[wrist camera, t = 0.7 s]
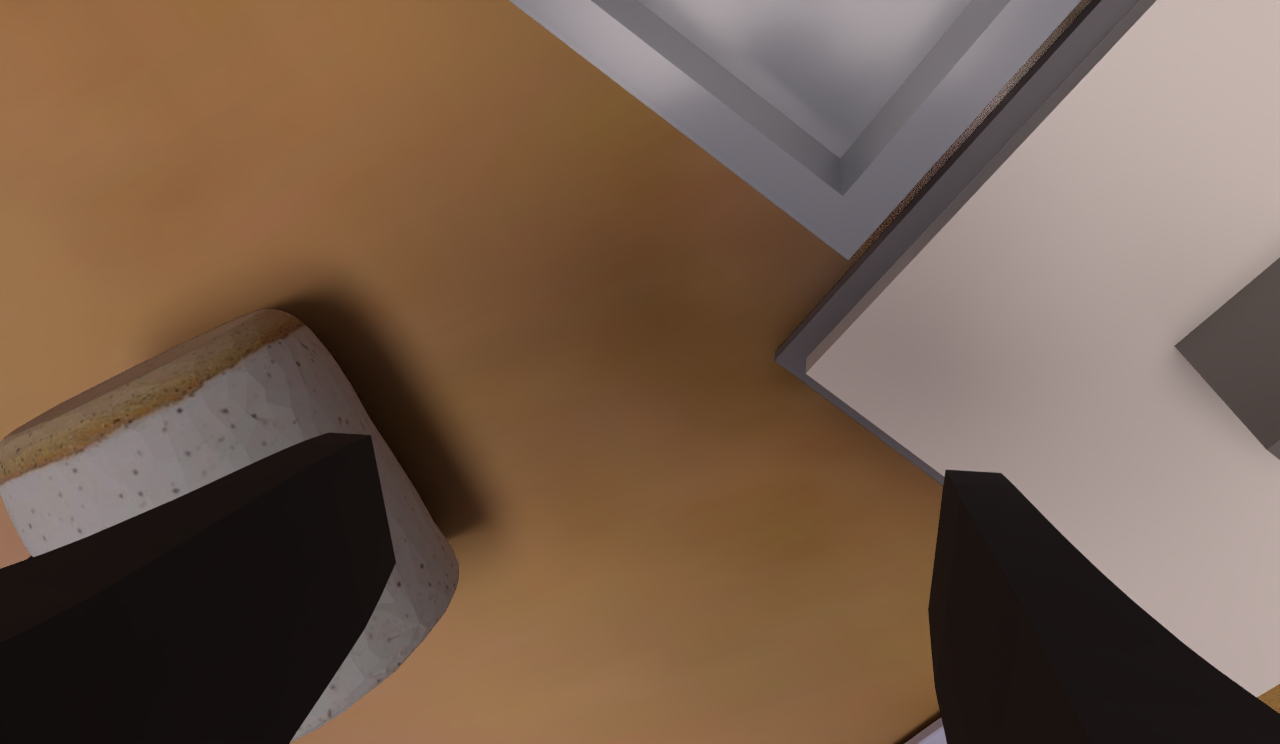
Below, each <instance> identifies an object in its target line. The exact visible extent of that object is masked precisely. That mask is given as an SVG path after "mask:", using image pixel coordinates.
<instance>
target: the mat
mask: <svg viewBox="0 0 1280 744" xmlns="http://www.w3.org/2000/svg"><path fill="white" fill-rule="evenodd" d="M1138 1H1139V0H1093V1H1092V2H1091V3H1090V4H1089V5H1088V6H1087V7H1086V8H1085V9H1084V11H1083V12H1082V13H1081V14H1080V15H1079V16H1078V17H1077V18H1076V19H1075V20H1074V22H1073V23H1072V24H1071V25H1070V26H1069V27H1068V28H1067V29H1066V30H1065V32H1064V33H1063V34H1062V35H1061V36H1060V37H1059V38H1058V39H1057V40H1056V42H1055V43H1054V44H1053V45H1052V46H1051V47H1050V48H1049V49H1048V50H1047V52H1046V53H1045V54H1044V55H1043V56H1042V57H1041V58H1040V59H1039V60H1038V61H1037V63H1036V64H1035V65H1034V66H1033V67H1032V68H1031V69H1030V70H1029V71H1028V73H1027V74H1026V75H1025V76H1024V77H1023V78H1022V79H1021V80H1020V81H1019V83H1018V84H1017V85H1016V86H1015V87H1014V88H1013V89H1012V90H1011V91H1010V92H1009V94H1008V95H1007V96H1006V97H1005V98H1004V99H1003V100H1002V101H1001V102H1000V104H999V105H998V106H997V107H996V108H995V109H994V110H993V111H992V112H991V114H990V115H989V116H988V117H987V118H986V119H985V120H984V121H983V122H982V123H981V125H980V126H979V127H978V128H977V129H976V130H975V131H974V132H973V133H972V135H971V136H970V137H969V138H968V139H967V140H966V141H965V142H964V143H963V145H962V146H961V147H960V148H959V149H958V150H957V151H956V152H955V153H954V154H953V156H952V157H951V158H950V159H949V160H948V161H947V162H946V163H945V164H944V166H943V167H942V168H941V169H940V170H939V171H938V172H937V173H936V174H935V176H934V177H933V178H932V179H931V180H930V181H929V182H928V183H927V184H926V186H925V187H924V188H923V189H922V190H921V191H920V192H919V193H918V194H917V195H916V197H915V198H914V199H913V200H912V201H911V202H910V203H909V204H908V205H907V207H906V208H905V209H904V210H903V211H902V212H901V213H900V214H899V215H898V217H897V218H896V219H895V220H894V221H893V222H892V223H891V224H890V225H889V226H888V228H887V229H886V230H885V231H884V232H883V233H882V234H881V235H880V236H879V238H878V239H877V240H876V241H875V242H874V243H873V244H872V245H871V246H870V248H869V249H868V250H867V251H866V252H865V253H864V254H863V255H862V256H861V257H860V259H859V260H858V261H857V262H856V263H855V264H854V265H853V266H852V267H851V269H850V270H849V271H848V272H847V273H846V274H845V275H844V276H843V277H842V279H841V280H840V281H839V282H838V283H837V284H836V285H835V286H834V287H833V288H832V290H831V291H830V292H829V293H828V294H827V295H826V296H825V297H824V298H823V300H822V301H821V302H820V303H819V304H818V305H817V306H816V307H815V308H814V310H813V311H812V312H811V313H810V314H809V315H808V316H807V317H806V318H805V320H804V321H803V322H802V323H801V324H800V325H799V326H798V327H797V328H796V329H795V331H794V332H793V333H792V334H791V335H790V336H789V337H788V338H787V339H786V341H785V342H784V343H783V344H782V345H781V346H780V347H779V348H778V349H777V351H776V352H775V360H774V361H775V362H777V363H778V364H780V365H781V366H782V367H784V368H785V369H786V370H788V371H789V372H790V373H792V374H793V375H794V376H796V377H797V378H798V379H800V380H801V381H802V382H804V383H805V384H806V385H808V386H809V387H810V388H812V389H813V390H814V391H816V392H817V393H819V394H820V395H821V396H823V397H824V398H825V399H827V400H828V401H829V402H831V403H832V404H833V405H835V406H836V407H837V408H839V409H840V410H841V411H843V412H844V413H845V414H847V415H848V416H849V417H851V418H852V419H854V420H855V421H856V422H858V423H859V424H860V425H862V426H863V427H864V428H866V429H867V430H868V431H870V432H871V433H872V434H874V435H875V436H876V437H878V438H879V439H880V440H882V441H883V442H884V443H886V444H887V445H889V446H890V447H891V448H893V449H894V450H895V451H897V452H898V453H899V454H901V455H902V456H903V457H905V458H906V459H907V460H909V461H910V462H911V463H913V464H914V465H915V466H917V467H918V468H919V469H921V470H922V471H924V472H925V473H926V474H928V475H929V476H930V477H932V478H933V479H934V480H936V481H937V482H938V483H940V484H941V485H942V486H944V476H943V475H941V474H940V473H939V472H937V471H936V470H935V469H933V468H932V467H931V466H929V465H928V464H926V463H925V462H924V461H922V460H921V459H920V458H918V457H917V456H916V455H914V454H913V453H912V452H910V451H909V450H908V449H906V448H905V447H904V446H902V445H901V444H900V443H898V442H897V441H896V440H894V439H893V438H892V437H890V436H889V435H888V434H886V433H885V432H884V431H882V430H881V429H880V428H878V427H877V426H875V425H874V424H873V423H871V422H870V421H869V420H867V419H866V418H865V417H863V416H862V415H861V414H859V413H858V412H857V411H855V410H854V409H853V408H851V407H850V406H849V405H847V404H846V403H845V402H843V401H842V400H841V399H839V398H838V397H837V396H835V395H834V394H833V393H831V392H830V391H828V390H827V389H826V388H824V387H823V386H822V385H820V384H819V383H818V382H816V381H815V380H814V379H812V378H811V377H810V376H808V375H807V374H806V358H807V357H808V356H809V355H810V354H811V353H812V352H813V351H814V349H815V348H816V347H817V346H818V345H819V344H820V343H821V342H822V341H823V340H824V339H825V338H826V337H827V335H828V334H829V333H830V332H831V331H832V330H833V329H834V328H835V327H836V326H837V325H838V324H839V323H840V321H841V320H842V319H843V318H844V317H845V316H846V315H847V314H848V313H849V312H850V311H851V310H852V309H853V308H854V306H855V305H856V304H857V303H858V302H859V301H860V300H861V299H862V298H863V297H864V296H865V295H866V294H867V292H868V291H869V290H870V289H871V288H872V287H873V286H874V285H875V284H876V283H877V282H878V281H879V280H880V278H881V277H882V276H883V275H884V274H885V273H886V272H887V271H888V270H889V269H890V268H891V267H892V266H893V264H894V263H895V262H896V261H897V260H898V259H899V258H900V257H901V256H902V255H903V254H904V253H905V252H906V251H907V249H908V248H909V247H910V246H911V245H912V244H913V243H914V242H915V241H916V240H917V239H918V238H919V237H920V235H921V234H922V233H923V232H924V231H925V230H926V229H927V228H928V227H929V226H930V225H931V224H932V223H933V221H934V220H935V219H936V218H937V217H938V216H939V215H940V214H941V213H942V212H943V211H944V210H945V209H946V208H947V206H948V205H949V204H950V203H951V202H952V201H953V200H954V199H955V198H956V197H957V196H958V195H959V194H960V192H961V191H962V190H963V189H964V188H965V187H966V186H967V185H968V184H969V183H970V182H971V181H972V180H973V178H974V177H975V176H976V175H977V174H978V173H979V172H980V171H981V170H982V169H983V168H984V167H985V166H986V165H987V163H988V162H989V161H990V160H991V159H992V158H993V157H994V156H995V155H996V154H997V153H998V152H999V151H1000V149H1001V148H1002V147H1003V146H1004V145H1005V144H1006V143H1007V142H1008V141H1009V140H1010V139H1011V138H1012V137H1013V135H1014V134H1015V133H1016V132H1017V131H1018V130H1019V129H1020V128H1021V127H1022V126H1023V125H1024V124H1025V123H1026V122H1027V120H1028V119H1029V118H1030V117H1031V116H1032V115H1033V114H1034V113H1035V112H1036V111H1037V110H1038V109H1039V108H1040V106H1041V105H1042V104H1043V103H1044V102H1045V101H1046V100H1047V99H1048V98H1049V97H1050V96H1051V95H1052V94H1053V92H1054V91H1055V90H1056V89H1057V88H1058V87H1059V86H1060V85H1061V84H1062V83H1063V82H1064V81H1065V80H1066V79H1067V77H1068V76H1069V75H1070V74H1071V73H1072V72H1073V71H1074V70H1075V69H1076V68H1077V67H1078V66H1079V65H1080V63H1081V62H1082V61H1083V60H1084V59H1085V58H1086V57H1087V56H1088V55H1089V54H1090V53H1091V52H1092V51H1093V49H1094V48H1095V47H1096V46H1097V45H1098V44H1099V43H1100V42H1101V41H1102V40H1103V39H1104V38H1105V37H1106V36H1107V34H1108V33H1109V32H1110V31H1111V30H1112V29H1113V28H1114V27H1115V26H1116V25H1117V24H1118V23H1119V22H1120V20H1121V19H1122V18H1123V17H1124V16H1125V15H1126V14H1127V13H1128V12H1129V11H1130V10H1131V9H1132V8H1133V6H1134V5H1135V4H1136V3H1137V2H1138Z"/></svg>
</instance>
